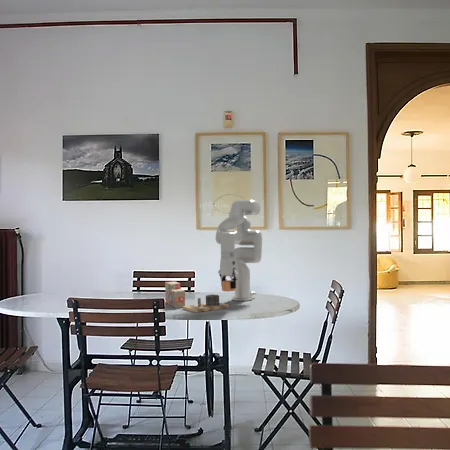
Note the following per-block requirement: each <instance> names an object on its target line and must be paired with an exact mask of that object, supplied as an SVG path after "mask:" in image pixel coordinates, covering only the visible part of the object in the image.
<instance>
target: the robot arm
mask: <svg viewBox="0 0 450 450" xmlns="http://www.w3.org/2000/svg"><path fill="white" fill-rule="evenodd" d="M260 212H261V204H260V202H259V201H258V200H254V199H237V200H234V201H232V204H231V207H230V211H229V215H228V217H227V218H225V219H224V220H223V221H221V222H220V224H218V226H217V229H216V232H215V242H216V243H217V244H219V245H220V265H219V270H218V274H219V277H220V281H221V283H220V285H221V287H222V281H224V280H227V277H229V279H230V280H231V289H234V288H236V290H235V291H234V295H233V296H232V298H231V299H232V301H238V302H239V301H241V302H243V301H246V302H247V301H252V300H253V299H254V297H253V296H255V295H257V292H256V291H251V272H250V271H251V270H250V268H249V266H248V265H247V264H259V263H261V260H262V255H263V254H262V253H263V251H262V249H263V236H262V235H263V234H262V233H261V231H260V230H257V229H252V228H251V225H252V223H251V221H250V220H249V218H248V217H247V216H257V215H259V214H260ZM234 228H236V230H233V229H234ZM235 245H238V246H241V247H235ZM244 246H245V247H244Z"/></svg>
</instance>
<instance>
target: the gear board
mask: <svg viewBox="0 0 450 450" xmlns="http://www.w3.org/2000/svg"><path fill="white" fill-rule="evenodd" d="M228 308H230V304H227V303H223V302H220V295H218V294H207V295H205V302H204V303H202V301H201V297H198V298H197V303H195V304H190V305H185V306H183V307H182V310H184V311H187V312H188V311H189V312H192V313H203V312H202V311H204V312H209V310H210V311H215V310H222V309H228Z"/></svg>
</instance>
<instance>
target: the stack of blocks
mask: <svg viewBox="0 0 450 450" xmlns="http://www.w3.org/2000/svg"><path fill="white" fill-rule="evenodd" d="M164 283H165V284H164V285H165V289H164V290H165V303H166V304H168V305H169V304H170V305H169V306H172V308H173V309H175V308H176V309H178V307H179V308H183V306H186V291H185V290H184V289H182V287H181V283H180V282H177V281H165V282H164Z"/></svg>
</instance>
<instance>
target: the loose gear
mask: <svg viewBox="0 0 450 450" xmlns="http://www.w3.org/2000/svg"><path fill="white" fill-rule="evenodd" d="M235 290H236V288H234V289H231V279H226V280H224V281H222V286H221V291H222V292H227V293H228V292H235Z"/></svg>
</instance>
